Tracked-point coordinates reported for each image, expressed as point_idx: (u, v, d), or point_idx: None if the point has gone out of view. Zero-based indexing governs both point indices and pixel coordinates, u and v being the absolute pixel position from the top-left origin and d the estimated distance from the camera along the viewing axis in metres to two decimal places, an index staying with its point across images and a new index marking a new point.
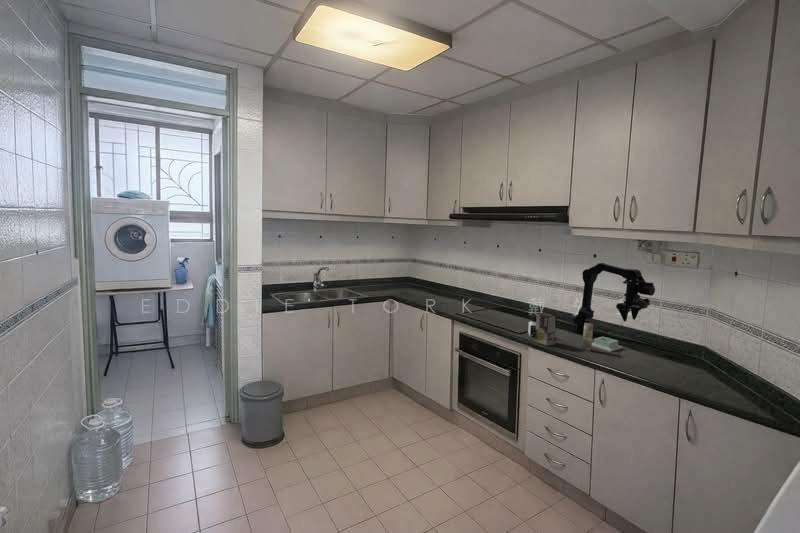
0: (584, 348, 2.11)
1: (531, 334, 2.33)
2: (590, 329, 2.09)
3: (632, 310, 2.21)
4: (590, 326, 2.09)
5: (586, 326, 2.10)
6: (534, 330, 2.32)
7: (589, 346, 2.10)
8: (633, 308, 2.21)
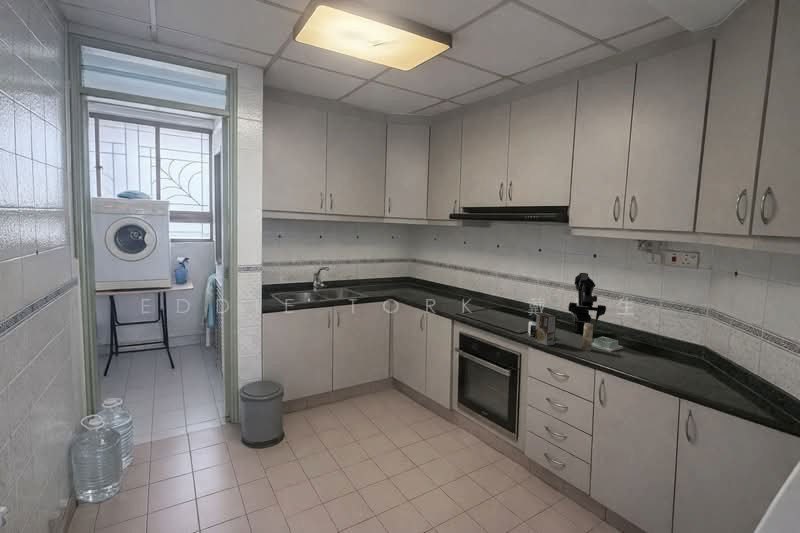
0: (584, 348, 2.11)
1: (531, 334, 2.33)
2: (590, 329, 2.09)
3: (596, 316, 2.20)
4: (590, 326, 2.09)
5: (586, 326, 2.10)
6: (534, 330, 2.32)
7: (589, 346, 2.10)
8: (596, 314, 2.21)
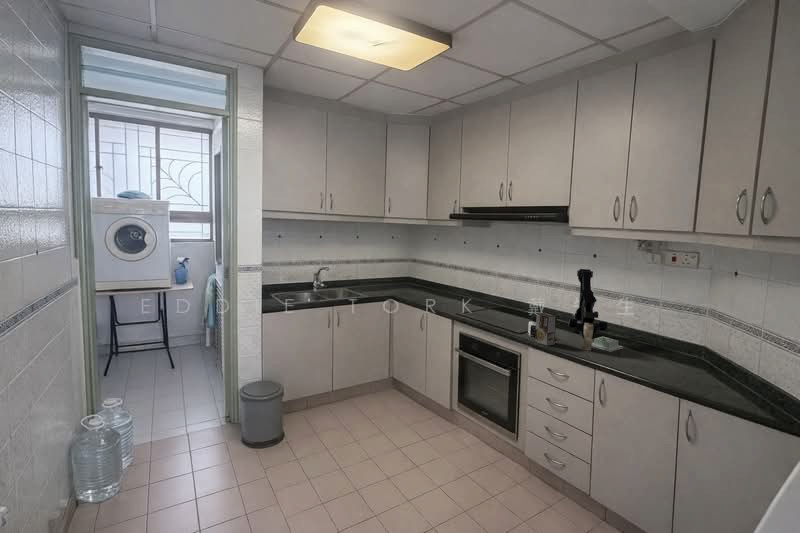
0: (584, 348, 2.11)
1: (531, 334, 2.33)
2: (590, 329, 2.09)
3: None
4: (590, 326, 2.09)
5: (586, 326, 2.10)
6: (534, 330, 2.32)
7: (589, 346, 2.10)
8: (593, 330, 2.14)
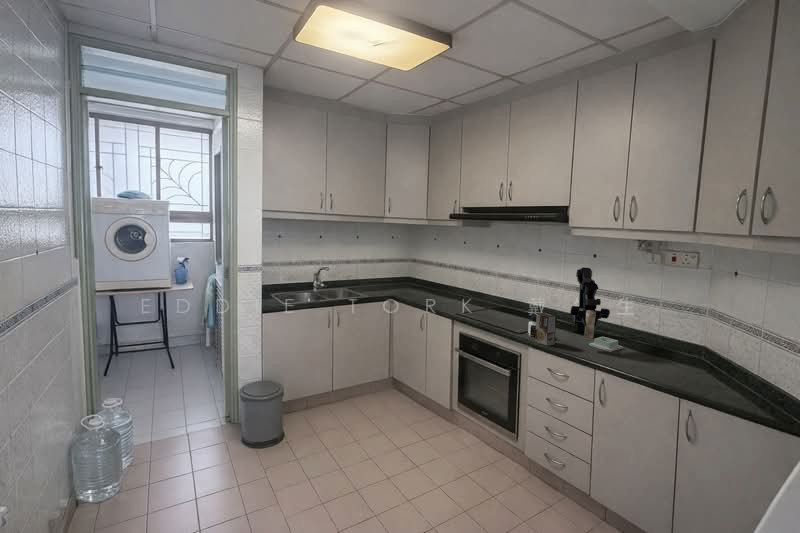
0: (586, 335, 2.10)
1: (531, 334, 2.33)
2: (592, 316, 2.08)
3: None
4: (592, 313, 2.08)
5: (588, 313, 2.09)
6: (534, 330, 2.32)
7: (591, 333, 2.09)
8: (595, 317, 2.13)
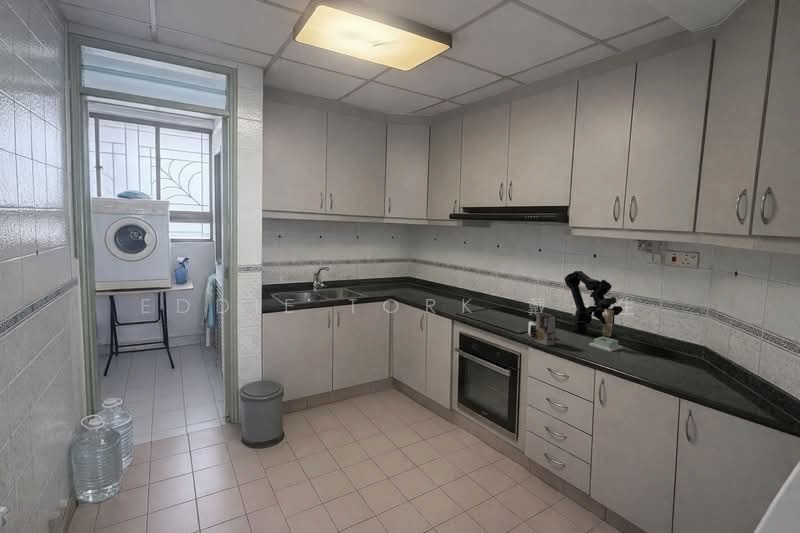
0: (606, 334, 2.15)
1: (531, 334, 2.33)
2: (612, 314, 2.14)
3: None
4: (612, 312, 2.13)
5: (608, 312, 2.14)
6: (534, 330, 2.32)
7: (610, 331, 2.15)
8: None
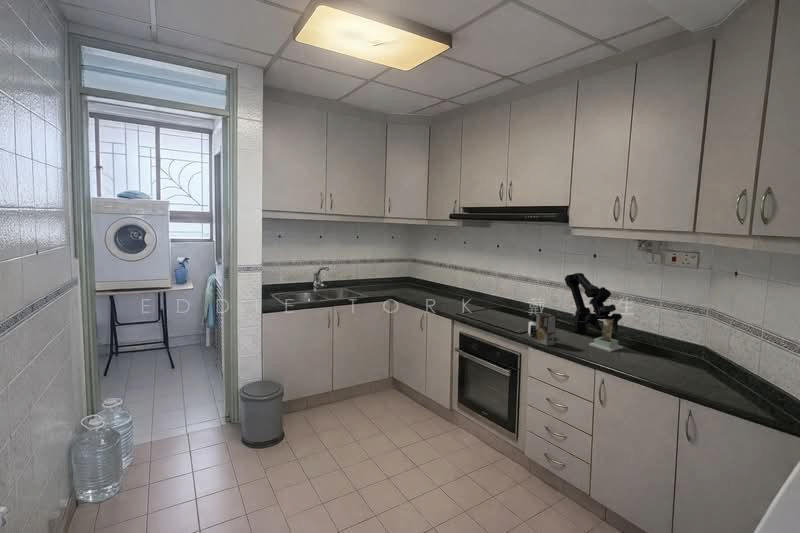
0: None
1: (531, 334, 2.33)
2: (611, 325, 2.14)
3: (612, 324, 2.20)
4: (611, 322, 2.14)
5: (607, 323, 2.14)
6: (534, 330, 2.32)
7: (610, 341, 2.16)
8: None
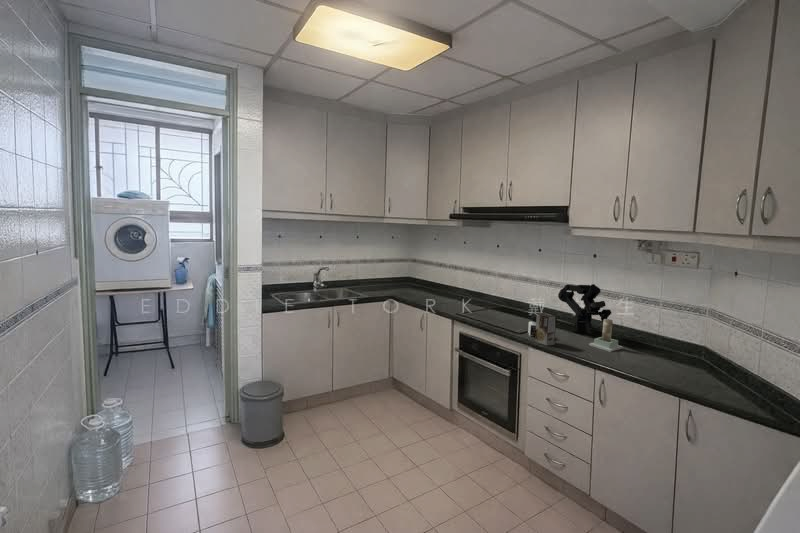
0: None
1: (531, 334, 2.33)
2: (611, 324, 2.14)
3: (602, 320, 2.29)
4: (611, 322, 2.14)
5: (607, 322, 2.14)
6: (534, 330, 2.32)
7: (610, 341, 2.16)
8: (602, 318, 2.30)
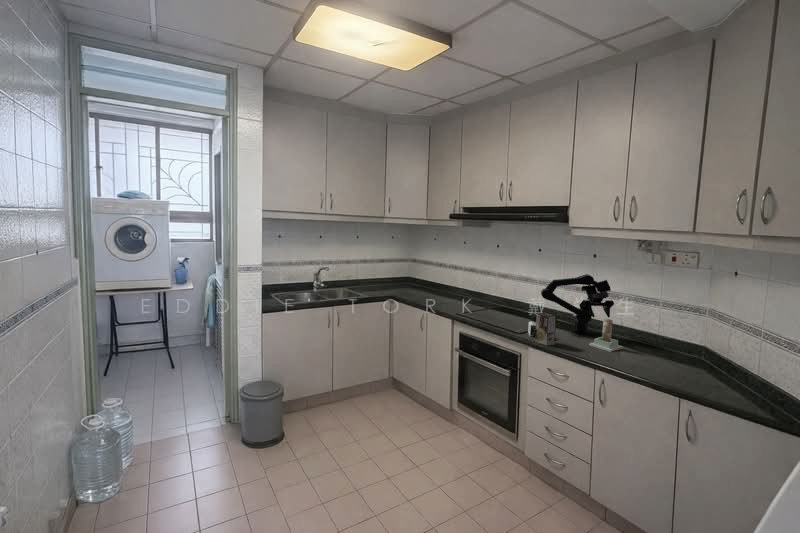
0: None
1: (531, 334, 2.33)
2: (611, 324, 2.14)
3: (605, 310, 2.33)
4: (611, 322, 2.14)
5: (607, 322, 2.14)
6: (534, 330, 2.32)
7: (610, 341, 2.16)
8: (605, 309, 2.33)
